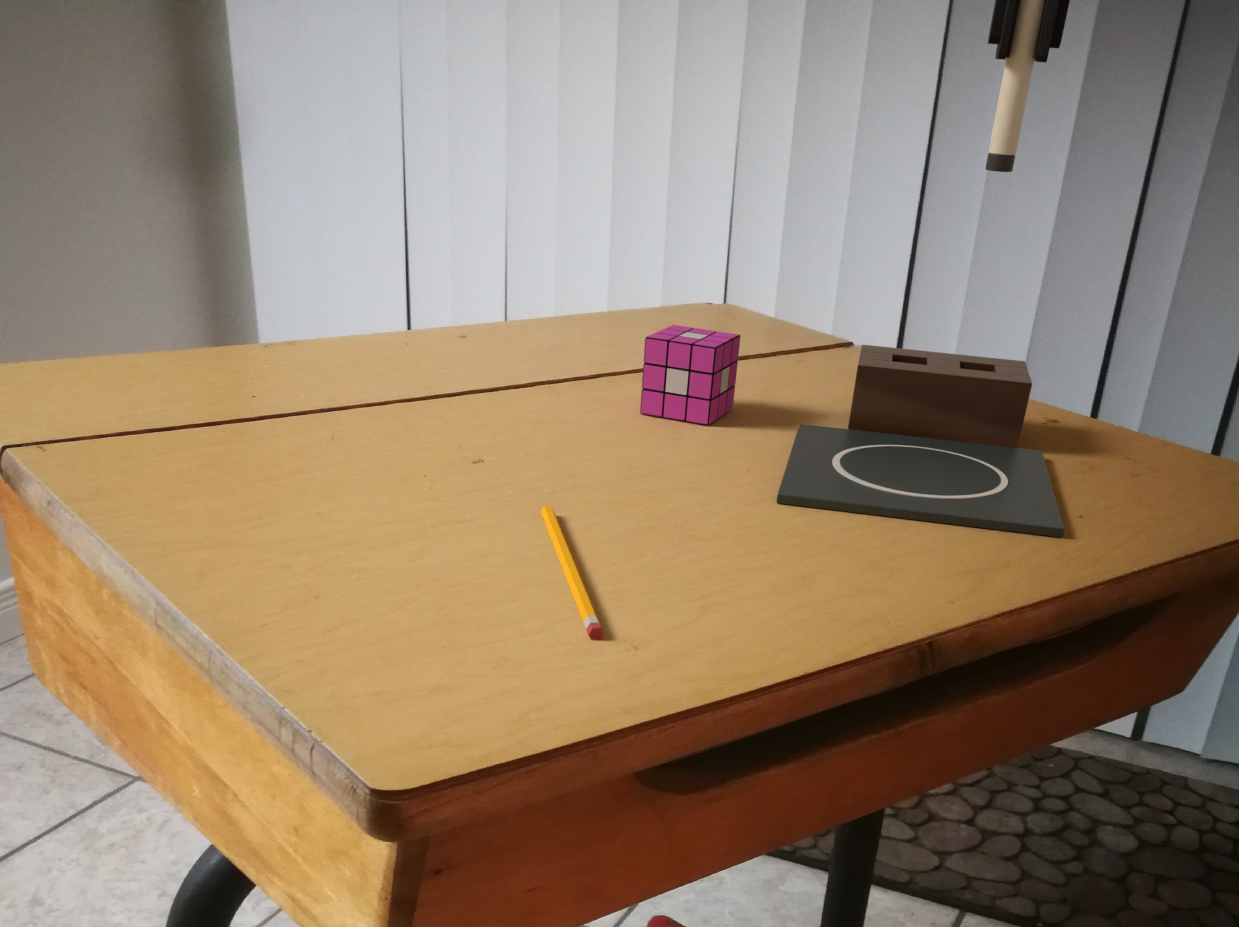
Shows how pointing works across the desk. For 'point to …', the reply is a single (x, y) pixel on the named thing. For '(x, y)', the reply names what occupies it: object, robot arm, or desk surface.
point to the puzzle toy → (689, 374)
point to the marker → (1015, 87)
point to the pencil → (572, 575)
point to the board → (921, 480)
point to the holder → (940, 396)
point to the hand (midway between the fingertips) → (1020, 57)
